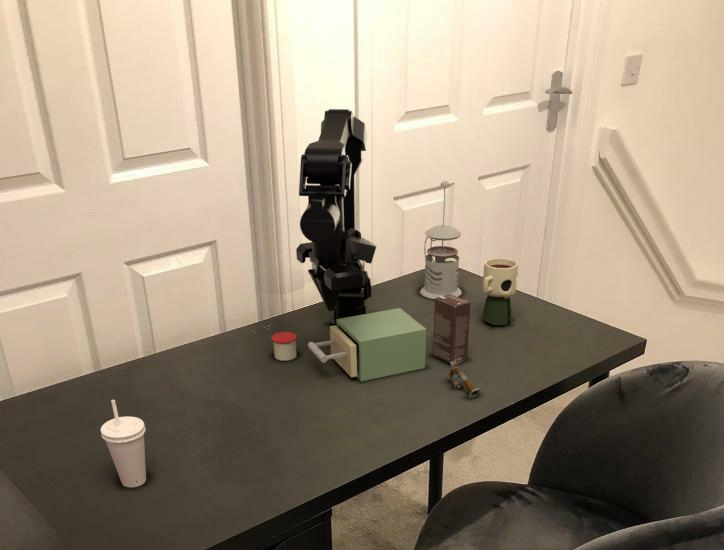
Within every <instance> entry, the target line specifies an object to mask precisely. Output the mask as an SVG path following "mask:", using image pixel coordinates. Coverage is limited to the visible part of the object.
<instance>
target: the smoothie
mask: <svg viewBox="0 0 724 550" xmlns="http://www.w3.org/2000/svg"><path fill="white" fill-rule="evenodd" d="M110 401H111V407H112V412H113V415H114V417H113V418H112V419H109V420H107V421H106V422H105V423H103V424H102V426H101V427H100V434H101V438H102V439H103V440H104V441H105V443H106V446H107V448H108V451H109V453H110V456H111V460H112V461H113V464H114V467H115V468H116V472H117V475H118V477H119V480H120V483H121V485H122V486H123V487H126V488H137V487H140V486H142V485H144V484H145V483H146V482H147V468H146V449H145V433H146V425H145V422H144V421H143V420H142V419H141V418H139V417H136V416H127V415H126V416H119V413H118V408H117V403H116V400H115V399H111V400H110ZM136 481H137V482H136Z"/></svg>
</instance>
